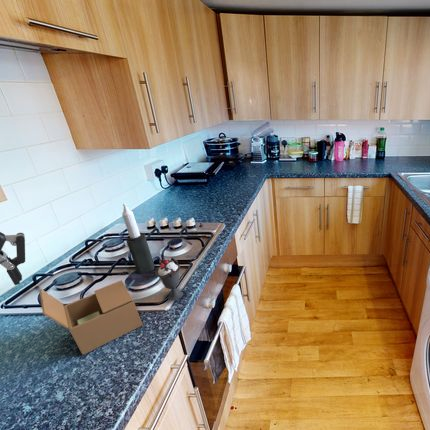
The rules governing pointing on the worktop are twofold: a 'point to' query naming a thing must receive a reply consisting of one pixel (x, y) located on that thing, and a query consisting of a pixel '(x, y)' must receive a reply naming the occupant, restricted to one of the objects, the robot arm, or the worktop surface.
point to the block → (88, 317)
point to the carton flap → (53, 308)
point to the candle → (137, 244)
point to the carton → (102, 317)
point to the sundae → (170, 277)
